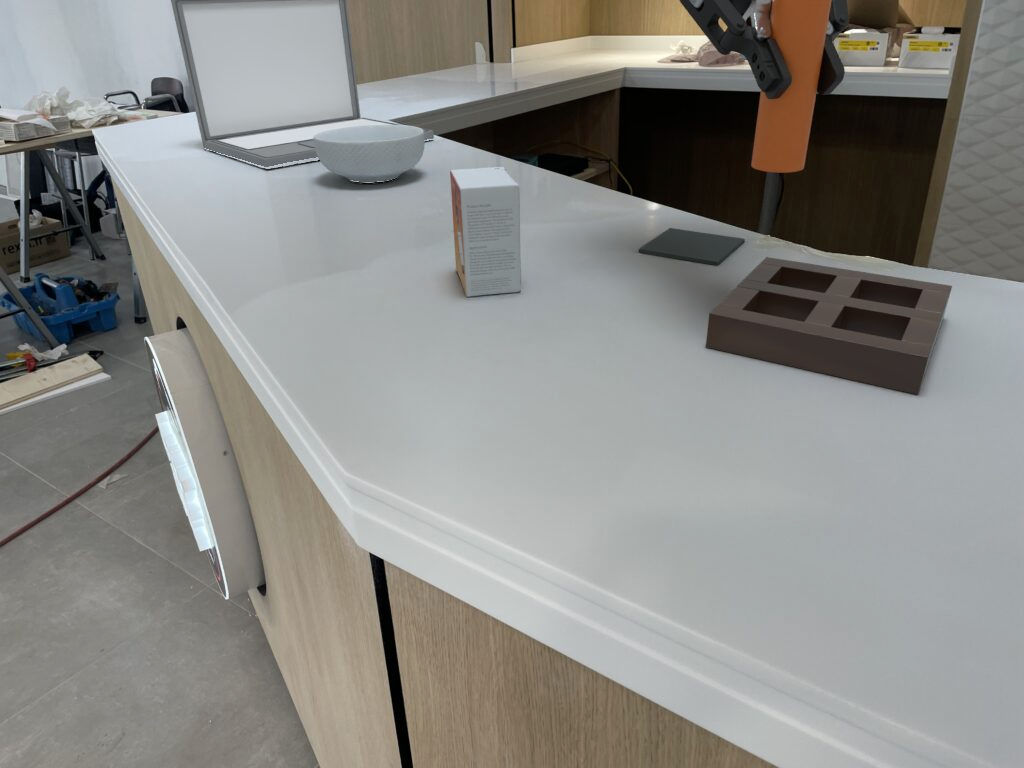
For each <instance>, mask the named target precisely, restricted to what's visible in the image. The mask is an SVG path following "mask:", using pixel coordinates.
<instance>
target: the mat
mask: <svg viewBox="0 0 1024 768" xmlns="http://www.w3.org/2000/svg"><path fill="white" fill-rule="evenodd" d="M745 242H746V238H743V237H736V236H729V235H723V234H722V235H721V234H714V233H709V232H701V231H695V230H688V229H681V228H674V227H669V228H668V229H666V230H665V231H664V232H662V233H660V234H659V235H657V236H656V237H654V238H653V239H651V240H650V241H648V242H647V243H645V244H644V245H642V246H641V247H639V248H638V253H640V254H647V255H653V256H658V257H663V258H664V257H665V258H670V259H677V260H683V261H688V262H694V263H701V264H707V265H712V266H719V265H720V264H721V263H722V262H723V261H724V260H726V259H727V258H728V257H729V256H730V255H731V254H733V253H734V252H735V251H736V250H737V249H738V248H740V247H741V245H743V244H744V243H745Z"/></svg>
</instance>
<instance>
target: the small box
mask: <svg viewBox="0 0 1024 768" xmlns="http://www.w3.org/2000/svg"><path fill="white" fill-rule="evenodd" d="M449 176H450V177H449V178H450V193H451V207H452V209H451V210H452V225H453V242H454V243H453V244H454V258H455V259H454V261H455V270H456V272H457V275H458V277H459V279H460V283H461V286H462V288H463V292H464V294H465V297H467V298H468V297H478V296H479V297H480V296H487V295H498V294H510V293H519V292H521V291H522V267H521V266H522V263H521V262H522V261H521V209H520V208H521V200H520V199H521V198H520V197H521V196H520V193H521V191H520V188H521V187H520V185H519V184H518V182H516V180H515V179H513V177H512V176H511V175H510V174H509V172H508V171H507V169H506V167H505V166H494V167H493V166H492V167H476V168H459V169H450V171H449Z"/></svg>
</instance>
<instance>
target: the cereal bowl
mask: <svg viewBox="0 0 1024 768" xmlns="http://www.w3.org/2000/svg"><path fill="white" fill-rule="evenodd" d="M423 129H424V128H422V129H421V127H419V126H414V125H408V124H407V125H404V124H400V125H365V126H354V127H346V128H339V129H333V130H328V131H324V132H321V133H318V134H316V135H314V145H315V150H316V154H317V156H318V158H319V160H320V161H319V162H320V163H321V165H323V167H325V169H327V170H328V171H329V172H331V173H333V174H335V175H338V176H340V177H343V178H344V177H345V178H347V180H348V179H349V180H353V181H359V182H377V181H387V180H391V179H394V178H397V177H398V176H399V175H401V174H403V173H405V172H407V171H409V170H412V169H413V168H415V167H416V166H417V165H418V163H419V162H420V161H421V159H422V157H423V156H424V151H425V143H426V142H425V141H424V139H425V138H424V131H423ZM399 177H400V176H399ZM399 177H398V178H399ZM398 178H397V179H398ZM349 180H348V181H349Z"/></svg>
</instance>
